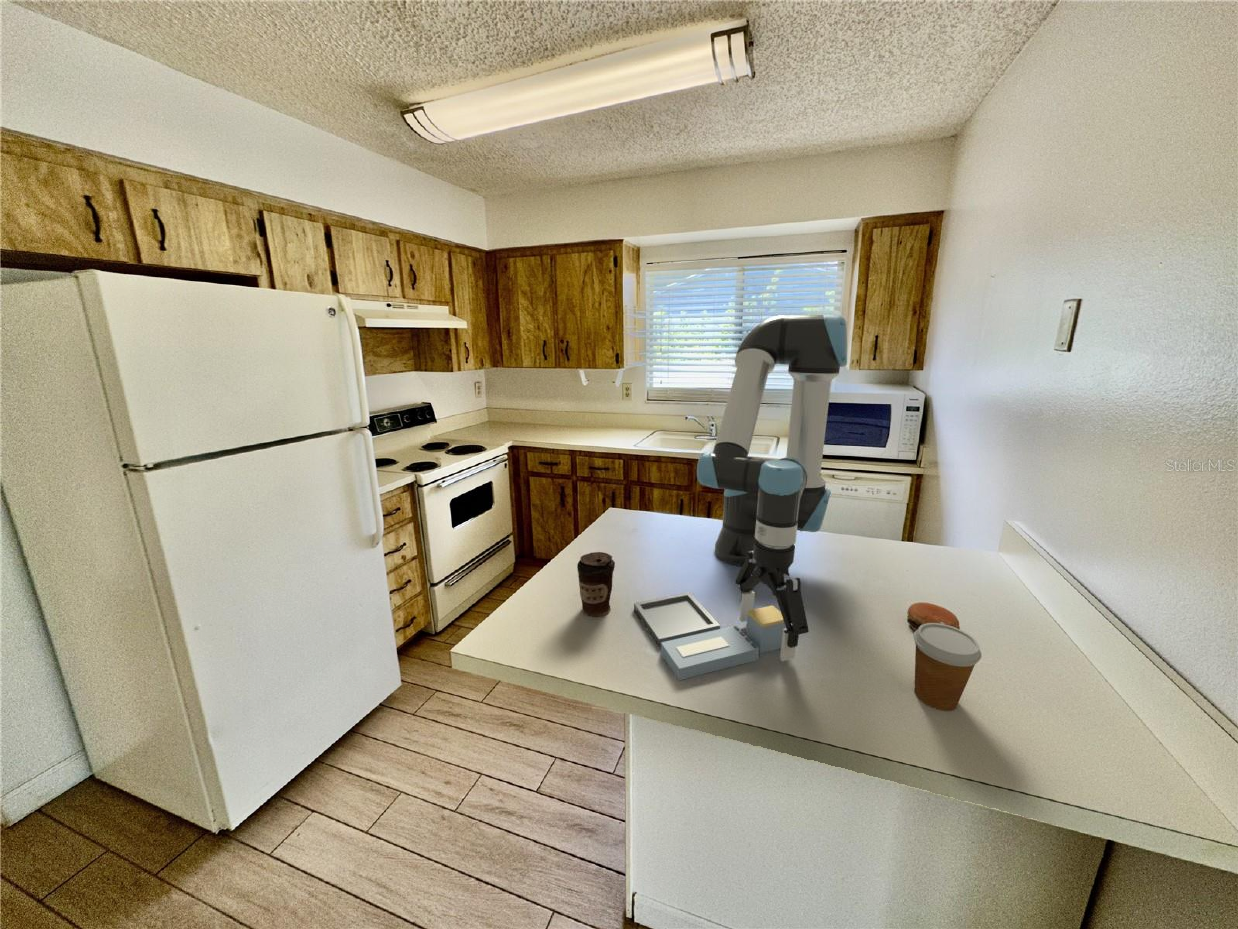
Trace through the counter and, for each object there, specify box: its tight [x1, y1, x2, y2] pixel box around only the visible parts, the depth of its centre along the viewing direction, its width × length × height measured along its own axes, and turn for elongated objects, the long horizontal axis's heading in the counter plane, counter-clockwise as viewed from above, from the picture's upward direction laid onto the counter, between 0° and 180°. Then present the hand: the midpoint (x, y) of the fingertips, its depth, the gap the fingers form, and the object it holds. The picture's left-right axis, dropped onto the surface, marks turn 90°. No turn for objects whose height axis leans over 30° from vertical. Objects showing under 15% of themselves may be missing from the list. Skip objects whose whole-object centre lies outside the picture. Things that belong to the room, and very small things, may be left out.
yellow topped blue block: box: [745, 604, 786, 654], centre depth 97 cm, size 6×5×7 cm
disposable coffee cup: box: [913, 623, 983, 712], centre depth 82 cm, size 10×10×12 cm
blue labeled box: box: [660, 625, 760, 681], centre depth 94 cm, size 17×8×3 cm, turn 109°
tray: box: [633, 591, 721, 648], centre depth 105 cm, size 14×14×2 cm
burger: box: [906, 602, 961, 632], centre depth 102 cm, size 10×9×5 cm
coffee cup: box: [576, 551, 616, 617], centre depth 108 cm, size 9×8×13 cm
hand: (765, 638), depth 98 cm, fingers open, 13 cm apart
